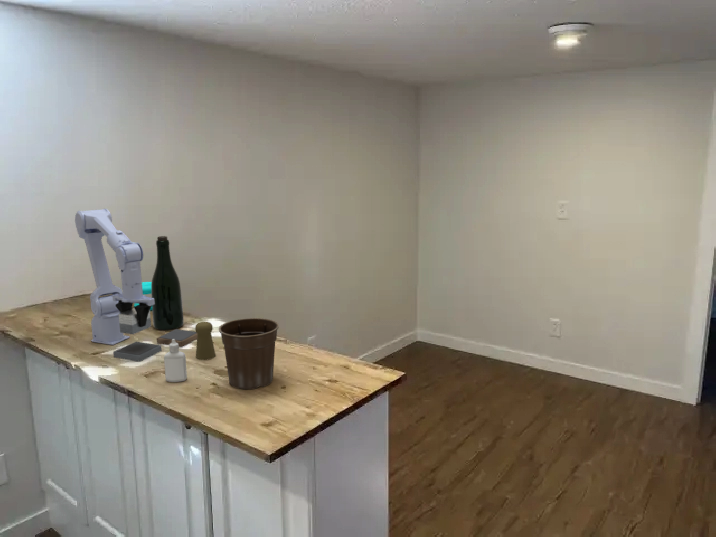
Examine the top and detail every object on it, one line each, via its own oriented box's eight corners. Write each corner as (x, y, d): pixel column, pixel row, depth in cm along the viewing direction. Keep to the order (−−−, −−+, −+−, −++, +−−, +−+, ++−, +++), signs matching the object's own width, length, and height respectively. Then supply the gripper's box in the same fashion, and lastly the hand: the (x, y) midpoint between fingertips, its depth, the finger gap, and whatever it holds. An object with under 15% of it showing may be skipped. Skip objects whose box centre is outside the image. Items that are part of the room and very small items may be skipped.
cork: (210, 360, 173) (208, 326, 171) (192, 359, 175) (189, 325, 172) (218, 353, 179) (217, 320, 177) (201, 352, 180) (199, 319, 178)
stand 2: (157, 343, 188) (156, 337, 188) (176, 333, 197) (176, 328, 197) (181, 347, 185) (181, 341, 184) (200, 337, 194) (200, 331, 193)
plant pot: (230, 369, 167) (227, 316, 164) (284, 369, 167) (283, 317, 163) (214, 392, 151) (211, 335, 148) (274, 393, 151) (273, 336, 147)
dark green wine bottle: (147, 327, 204) (140, 236, 197) (171, 320, 213) (165, 233, 205) (165, 332, 198) (158, 239, 191) (190, 325, 207) (184, 235, 200)
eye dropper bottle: (178, 384, 156) (175, 343, 154) (163, 380, 159) (160, 340, 156) (189, 378, 160) (186, 338, 158) (174, 375, 163) (171, 335, 160)
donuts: (144, 280, 232) (164, 282, 228) (146, 303, 234) (166, 306, 230) (126, 285, 223) (147, 288, 219) (128, 310, 225) (149, 312, 221)
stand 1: (113, 357, 176) (113, 351, 175) (136, 346, 185) (136, 340, 184) (139, 361, 172) (139, 355, 172) (161, 350, 182) (161, 344, 181)
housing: (120, 332, 174) (118, 313, 173) (138, 324, 181) (137, 306, 180) (133, 334, 172) (131, 315, 171) (151, 326, 180) (149, 308, 178)
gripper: (103, 283, 172) (107, 326, 175) (141, 288, 167) (145, 331, 170) (120, 278, 179) (124, 319, 182) (157, 282, 174) (161, 324, 177)
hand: (135, 325), depth 177 cm, fingers closed on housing, 5 cm apart
